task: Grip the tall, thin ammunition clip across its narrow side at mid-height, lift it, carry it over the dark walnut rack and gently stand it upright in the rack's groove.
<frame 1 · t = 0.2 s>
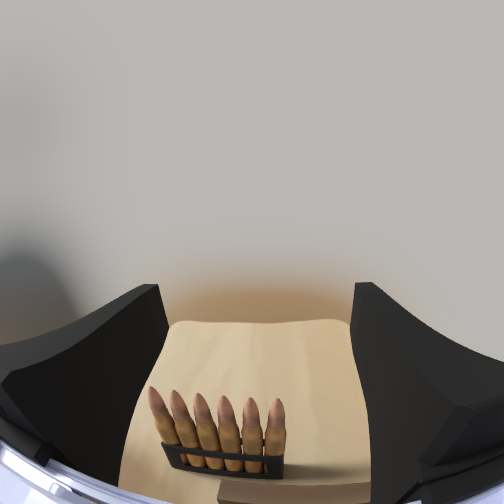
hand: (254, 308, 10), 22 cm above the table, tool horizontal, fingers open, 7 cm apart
ammunition clip: (227, 469, 23), on the table
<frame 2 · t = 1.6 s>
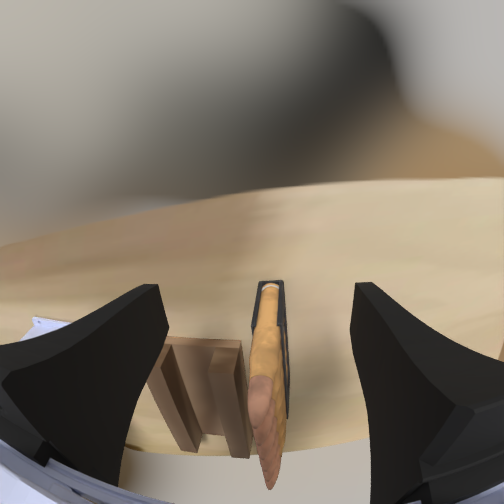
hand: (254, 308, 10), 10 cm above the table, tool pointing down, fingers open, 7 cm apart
walnut rack: (209, 392, 28), on the table
ammunition clip: (276, 334, 24), on the table
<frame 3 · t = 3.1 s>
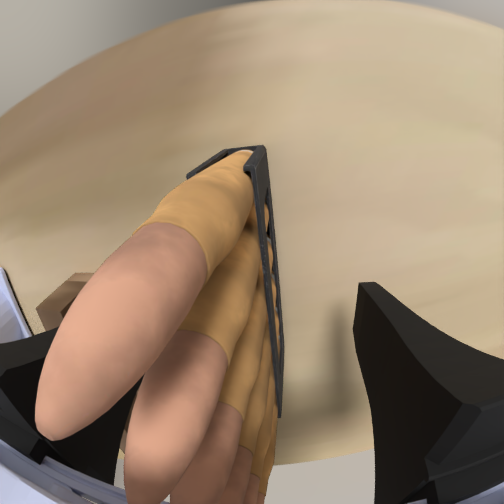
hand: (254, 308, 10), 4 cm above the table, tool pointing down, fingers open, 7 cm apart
walnut rack: (160, 372, 18), on the table
ammunition clip: (258, 260, 14), on the table
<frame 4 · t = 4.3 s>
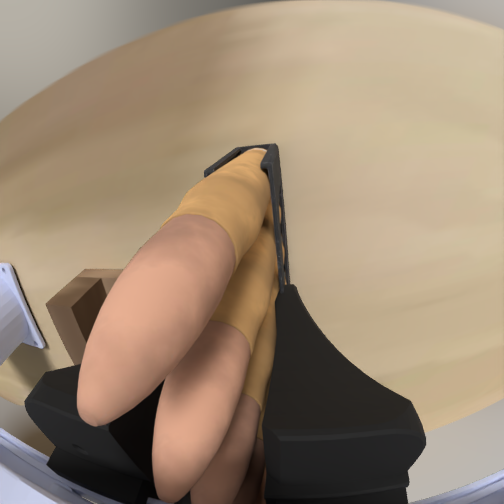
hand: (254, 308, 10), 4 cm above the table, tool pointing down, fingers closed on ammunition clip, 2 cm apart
walnut rack: (168, 368, 18), on the table
ammunition clip: (269, 257, 14), on the table, touching gripper
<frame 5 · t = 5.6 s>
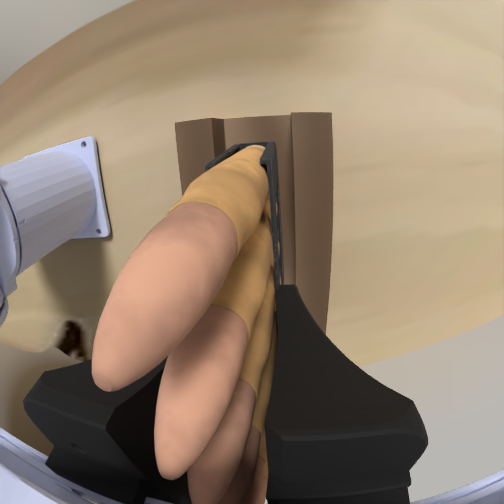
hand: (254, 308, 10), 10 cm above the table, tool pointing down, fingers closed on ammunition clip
walnut rack: (265, 229, 20), on the table
ammunition clip: (263, 252, 15), point 6 cm above the table, touching gripper
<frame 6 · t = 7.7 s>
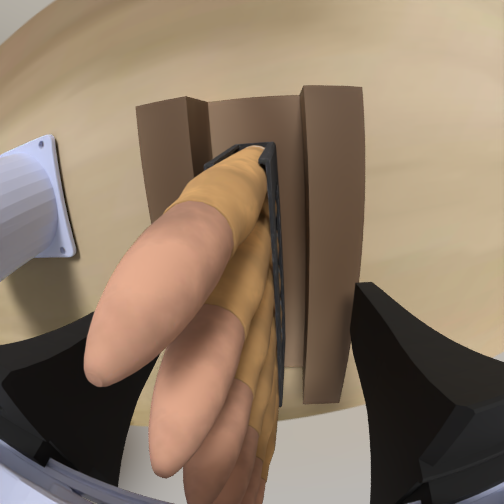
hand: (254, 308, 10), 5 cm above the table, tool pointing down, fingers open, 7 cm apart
walnut rack: (265, 248, 15), on the table
ammunition clip: (263, 253, 15), point 1 cm above the table, touching walnut rack
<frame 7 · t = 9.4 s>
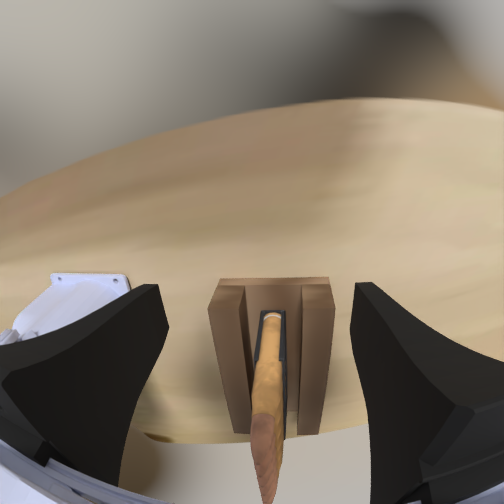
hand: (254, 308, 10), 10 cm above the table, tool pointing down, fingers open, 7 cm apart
walnut rack: (276, 353, 25), on the table
ammunition clip: (276, 358, 24), point 1 cm above the table, touching walnut rack
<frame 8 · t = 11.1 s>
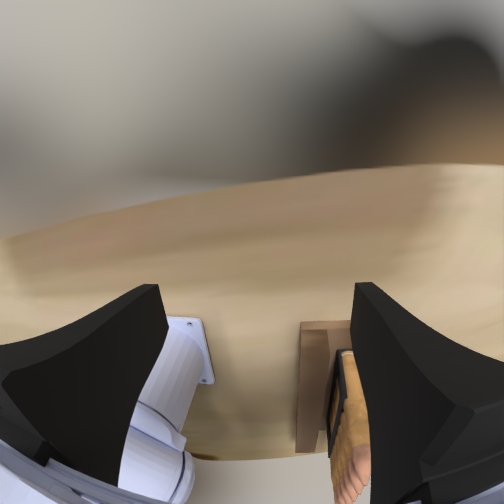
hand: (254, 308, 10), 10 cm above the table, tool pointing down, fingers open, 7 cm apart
walnut rack: (340, 381, 25), on the table
ammunition clip: (340, 386, 25), point 1 cm above the table, touching walnut rack
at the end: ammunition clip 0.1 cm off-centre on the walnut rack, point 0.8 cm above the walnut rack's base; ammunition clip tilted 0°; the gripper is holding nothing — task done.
